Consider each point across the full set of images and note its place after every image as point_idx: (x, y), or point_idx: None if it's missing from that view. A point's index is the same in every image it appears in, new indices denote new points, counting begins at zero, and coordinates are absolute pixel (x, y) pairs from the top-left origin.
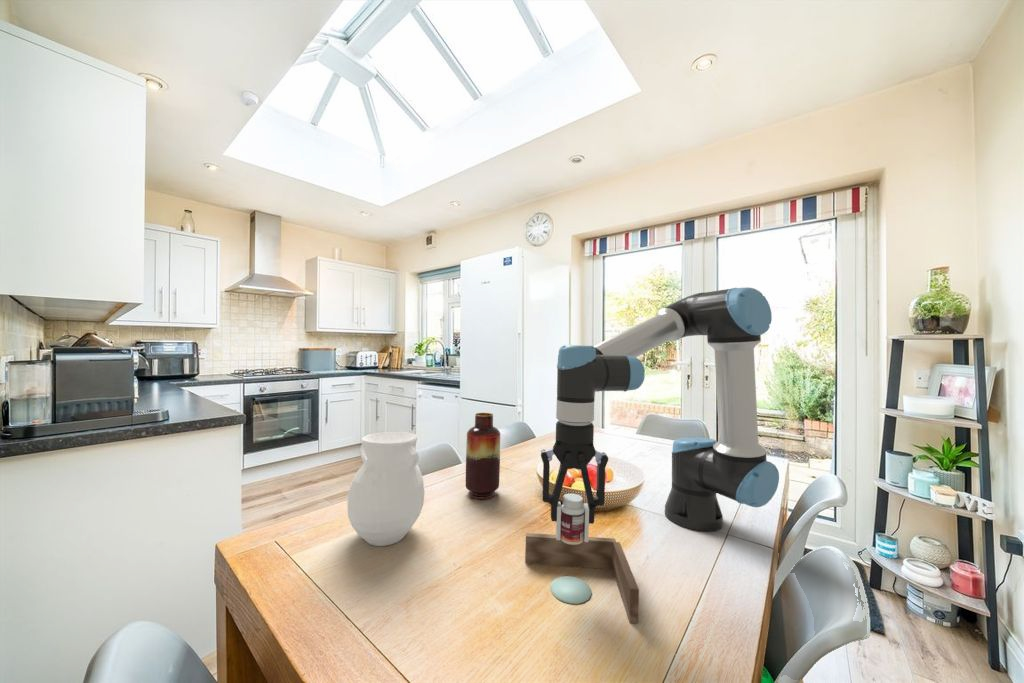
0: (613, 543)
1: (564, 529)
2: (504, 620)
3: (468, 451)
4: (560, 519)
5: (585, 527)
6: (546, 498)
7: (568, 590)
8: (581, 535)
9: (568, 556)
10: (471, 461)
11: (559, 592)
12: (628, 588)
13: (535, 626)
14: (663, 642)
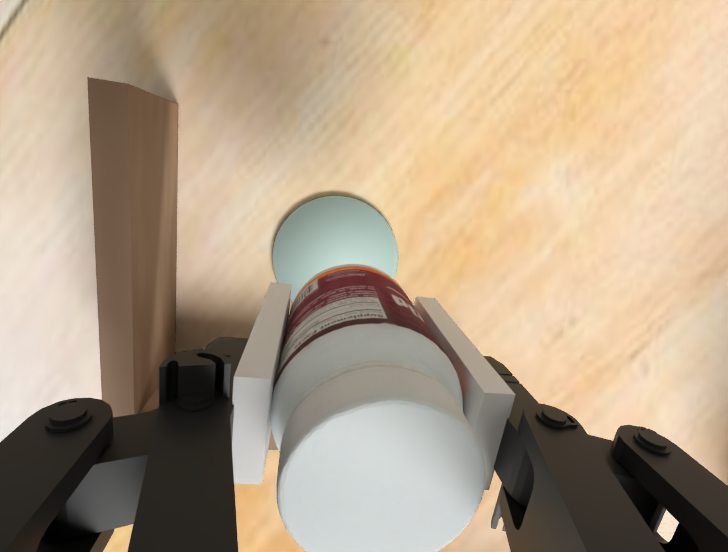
0: (134, 409)
1: (413, 307)
2: (551, 133)
3: None
4: (451, 345)
5: (280, 313)
6: (653, 448)
7: (345, 252)
8: (309, 289)
9: None
10: None
11: (375, 242)
12: (136, 119)
13: (472, 104)
14: (83, 8)
